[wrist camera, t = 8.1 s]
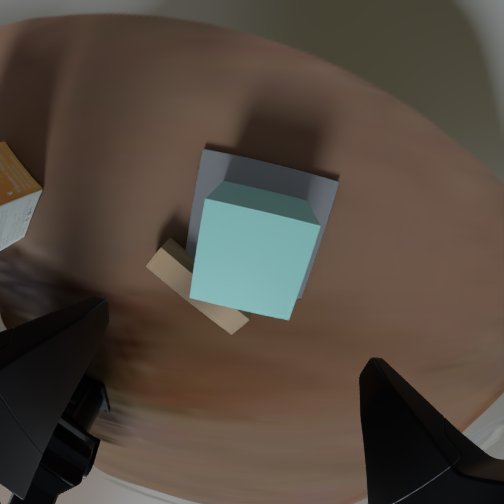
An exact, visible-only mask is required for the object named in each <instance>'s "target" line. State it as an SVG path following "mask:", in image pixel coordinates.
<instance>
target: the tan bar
mask: <svg viewBox="0 0 504 504" xmlns="http://www.w3.org/2000/svg"><path fill="white" fill-rule="evenodd" d="M185 251H186V250H185V249H184V248H182V247H181V246H180V245H179V244H178V243H177V242H175V241H174V240H173V239H172V238H171V237H170V238H169V239H168V240H167V241H166V242H165V243H164V244H163V246H162V247H161V248H160V249H159V250H158V252H157V253H156V254H155V255H154V257H153V258H152V259H151V261H150V262H149V263H148V264H147V266H146V267H147V268H148V269H149V270H150V271H152V272H153V273H154V274H155V275H156V276H158V277H159V278H160V279H161V280H162V281H164V282H165V283H166V284H167V285H168V286H170V287H171V288H172V289H173V290H174V291H176V292H177V293H178V294H179V295H181V296H182V297H183V298H184V299H186V300H187V301H188V302H189V303H191V304H192V305H193V306H194V307H196V308H197V309H198V310H200V311H201V312H202V313H203V314H205V315H206V316H207V317H209V318H210V319H211V320H213V321H214V322H215V323H217V324H218V325H219V326H221V327H222V328H223V329H225V330H226V331H227V332H229V333H230V334H231V335H232V334H233V333H234V332H236V331H237V330H238V329H239V328H240V327H242V326H243V325H244V324H245V323H247V322H248V321H249V320H250V313H251V312H247V311H243V310H238V309H234V308H229V307H225V306H221V305H216V304H212V303H208V302H204V301H200V300H196V299H192V298H190V290H191V283H192V276H193V269H194V262H195V261H194V260H193V259H191V258H190V257H189V256H188V255H187V254H185Z"/></svg>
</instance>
